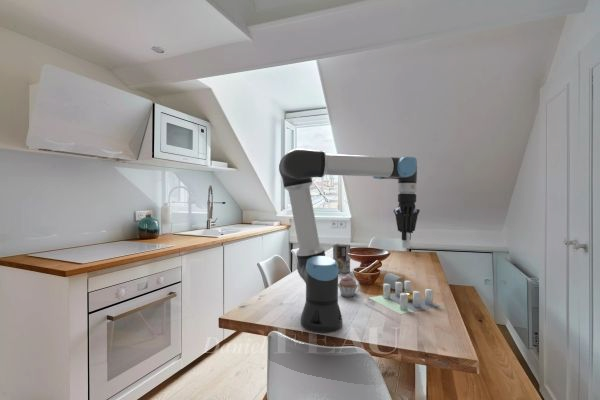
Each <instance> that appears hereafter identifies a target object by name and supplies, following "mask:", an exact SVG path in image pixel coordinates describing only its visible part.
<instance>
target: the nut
mask: <svg viewBox="0 0 600 400" xmlns="http://www.w3.org/2000/svg"><path fill="white" fill-rule="evenodd" d="M405 293H406V294H408V302H413V291H411V292H405Z"/></svg>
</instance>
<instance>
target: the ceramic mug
mask: <svg viewBox="0 0 600 400" xmlns="http://www.w3.org/2000/svg"><path fill="white" fill-rule="evenodd" d="M405 281H406V280H405V279H404V278H403V277H402V276H399V275H396V274H395V273H391V272H388V273H386V274H385V276H384V277H383V284H390V290H393V291H395V284H396V282H402V291H404V289H405Z"/></svg>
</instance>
